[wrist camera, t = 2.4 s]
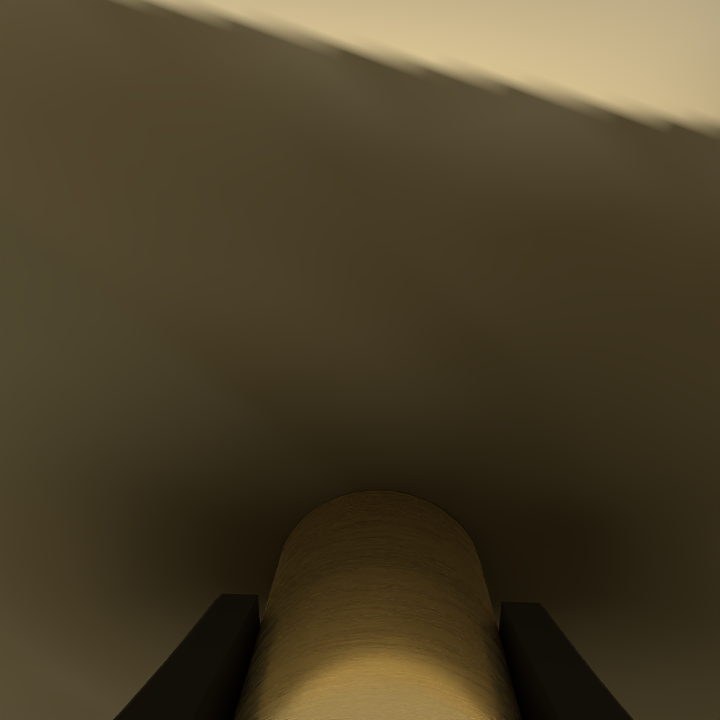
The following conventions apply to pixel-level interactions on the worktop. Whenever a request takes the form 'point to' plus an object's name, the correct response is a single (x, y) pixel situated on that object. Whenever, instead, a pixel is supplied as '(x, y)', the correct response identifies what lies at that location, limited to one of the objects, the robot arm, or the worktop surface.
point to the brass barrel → (378, 620)
